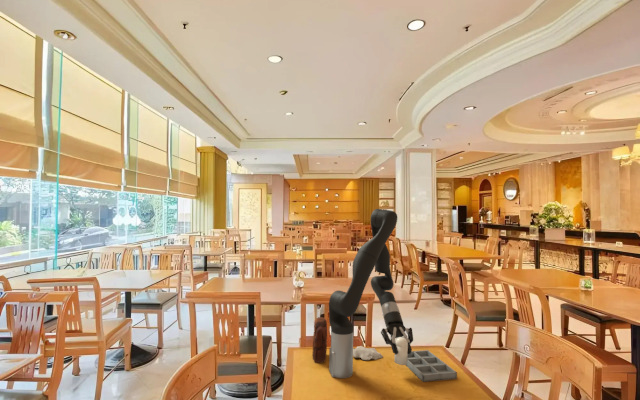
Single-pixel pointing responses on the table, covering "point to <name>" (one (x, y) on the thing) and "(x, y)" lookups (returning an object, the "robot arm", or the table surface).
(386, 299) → the robot arm
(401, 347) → the cream rounded cylinder
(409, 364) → the grey compartment tray
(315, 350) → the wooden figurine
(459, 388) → the table surface
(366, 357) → the decorative stone
